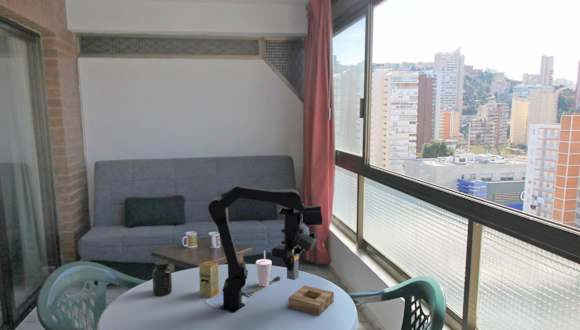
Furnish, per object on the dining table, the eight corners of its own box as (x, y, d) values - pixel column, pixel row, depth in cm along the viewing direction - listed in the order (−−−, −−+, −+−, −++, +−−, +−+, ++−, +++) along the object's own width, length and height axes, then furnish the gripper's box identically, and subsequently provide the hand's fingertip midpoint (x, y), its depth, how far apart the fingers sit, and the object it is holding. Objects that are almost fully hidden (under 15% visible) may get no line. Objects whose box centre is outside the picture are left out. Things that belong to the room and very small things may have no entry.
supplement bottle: (149, 294, 154) (147, 263, 153) (161, 287, 160) (160, 258, 159) (164, 298, 152) (163, 266, 150) (175, 290, 158) (174, 260, 156)
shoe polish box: (207, 290, 158) (207, 260, 157) (218, 292, 156) (218, 262, 155) (199, 295, 154) (199, 264, 152) (210, 297, 152) (210, 266, 150)
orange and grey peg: (294, 280, 142) (294, 256, 141) (286, 278, 144) (286, 255, 143) (299, 277, 145) (298, 253, 144) (291, 275, 147) (290, 252, 146)
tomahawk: (253, 302, 151) (253, 299, 151) (240, 295, 155) (240, 292, 155) (289, 283, 167) (289, 280, 167) (277, 277, 171) (277, 275, 171)
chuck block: (319, 315, 139) (319, 305, 139) (288, 306, 145) (288, 297, 145) (333, 301, 149) (333, 292, 149) (304, 294, 155) (304, 285, 155)
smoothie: (275, 284, 164) (275, 250, 162) (265, 290, 159) (265, 254, 157) (262, 280, 168) (261, 247, 166) (252, 286, 162) (252, 251, 161)
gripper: (299, 236, 130) (300, 283, 132) (324, 222, 146) (325, 264, 148) (269, 231, 136) (270, 277, 138) (297, 218, 152) (297, 259, 154)
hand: (292, 269), depth 144 cm, fingers closed on orange and grey peg, 3 cm apart
